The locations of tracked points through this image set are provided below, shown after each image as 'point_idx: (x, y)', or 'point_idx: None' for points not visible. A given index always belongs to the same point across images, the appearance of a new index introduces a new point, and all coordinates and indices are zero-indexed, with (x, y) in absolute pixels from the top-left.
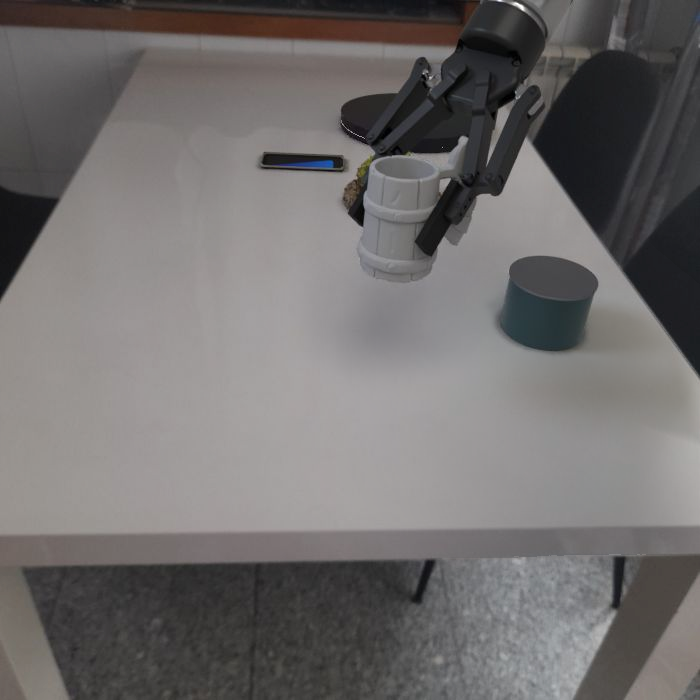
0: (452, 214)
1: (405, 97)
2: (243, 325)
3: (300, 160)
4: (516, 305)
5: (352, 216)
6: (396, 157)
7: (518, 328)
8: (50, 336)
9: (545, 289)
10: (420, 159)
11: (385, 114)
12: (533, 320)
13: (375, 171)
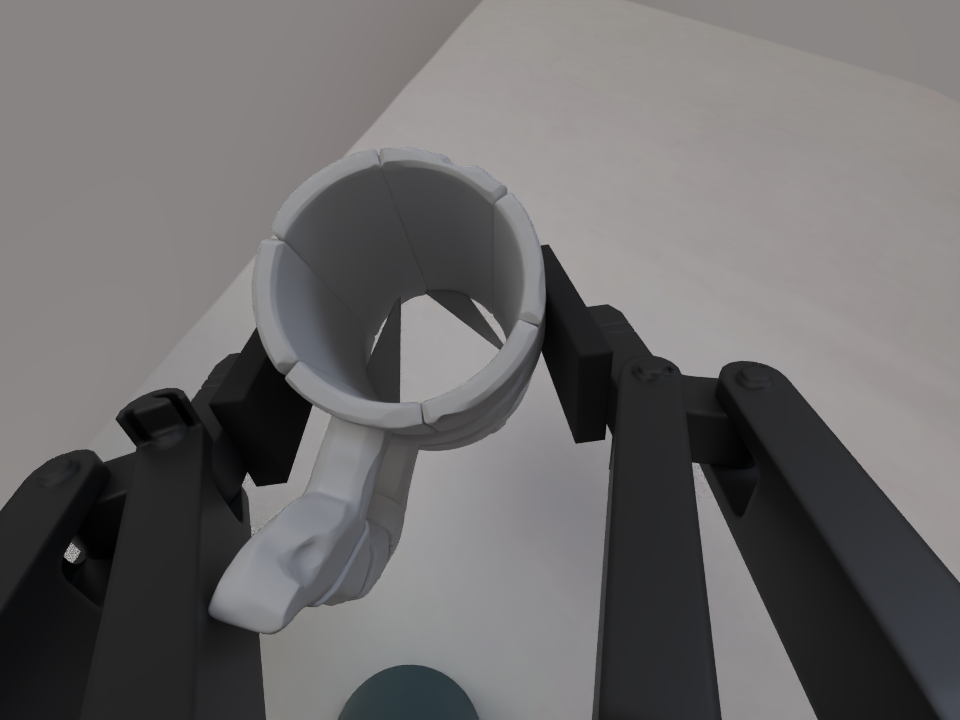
0: (230, 361)
1: (912, 661)
2: (702, 320)
3: None
4: (414, 704)
5: None
6: (512, 333)
7: (405, 678)
8: (814, 103)
9: None
10: (428, 401)
11: (849, 485)
12: (373, 699)
13: (439, 157)
